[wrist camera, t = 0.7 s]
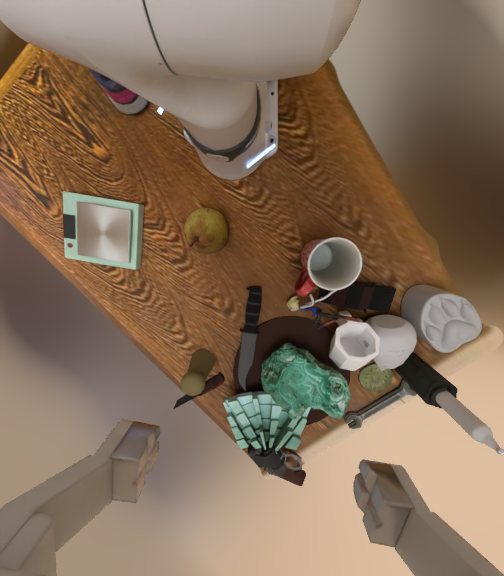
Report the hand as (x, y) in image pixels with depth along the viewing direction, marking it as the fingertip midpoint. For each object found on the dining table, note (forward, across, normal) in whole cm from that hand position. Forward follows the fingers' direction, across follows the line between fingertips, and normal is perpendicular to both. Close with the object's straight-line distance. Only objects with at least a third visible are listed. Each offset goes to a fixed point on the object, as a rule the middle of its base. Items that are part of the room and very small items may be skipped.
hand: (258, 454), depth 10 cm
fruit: (+46, +12, -7) cm, 48 cm away
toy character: (+41, -28, +5) cm, 49 cm away
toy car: (+46, -21, +1) cm, 51 cm away
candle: (+46, -38, +16) cm, 62 cm away
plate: (+46, -11, +23) cm, 53 cm away
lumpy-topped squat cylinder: (+46, -38, +3) cm, 60 cm away
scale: (+46, +35, -3) cm, 58 cm away
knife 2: (+44, +3, +16) cm, 47 cm away
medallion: (+46, -32, +22) cm, 61 cm away
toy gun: (+48, -12, +43) cm, 66 cm away
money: (+42, -8, +34) cm, 55 cm away
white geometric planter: (+45, -22, +14) cm, 52 cm away
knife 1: (+46, +12, +33) cm, 58 cm away
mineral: (+43, -13, +23) cm, 51 cm away
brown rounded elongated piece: (+46, +11, +25) cm, 54 cm away
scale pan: (+43, +34, -3) cm, 55 cm away
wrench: (+46, -29, +36) cm, 65 cm away
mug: (+46, -10, -4) cm, 47 cm away
